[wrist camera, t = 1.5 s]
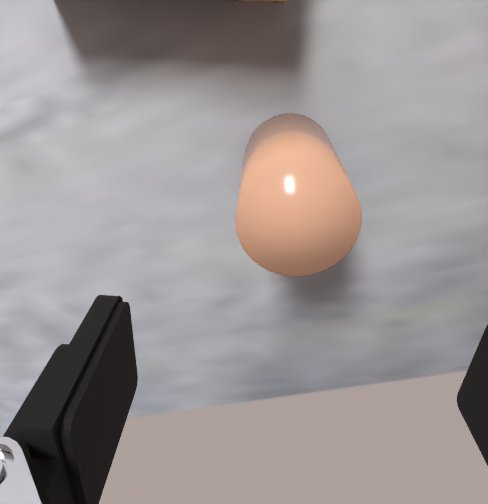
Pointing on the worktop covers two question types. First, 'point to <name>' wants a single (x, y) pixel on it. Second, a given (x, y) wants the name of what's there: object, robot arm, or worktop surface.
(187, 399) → the worktop surface
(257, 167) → the glossy peach capsule
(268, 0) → the walnut plinth
